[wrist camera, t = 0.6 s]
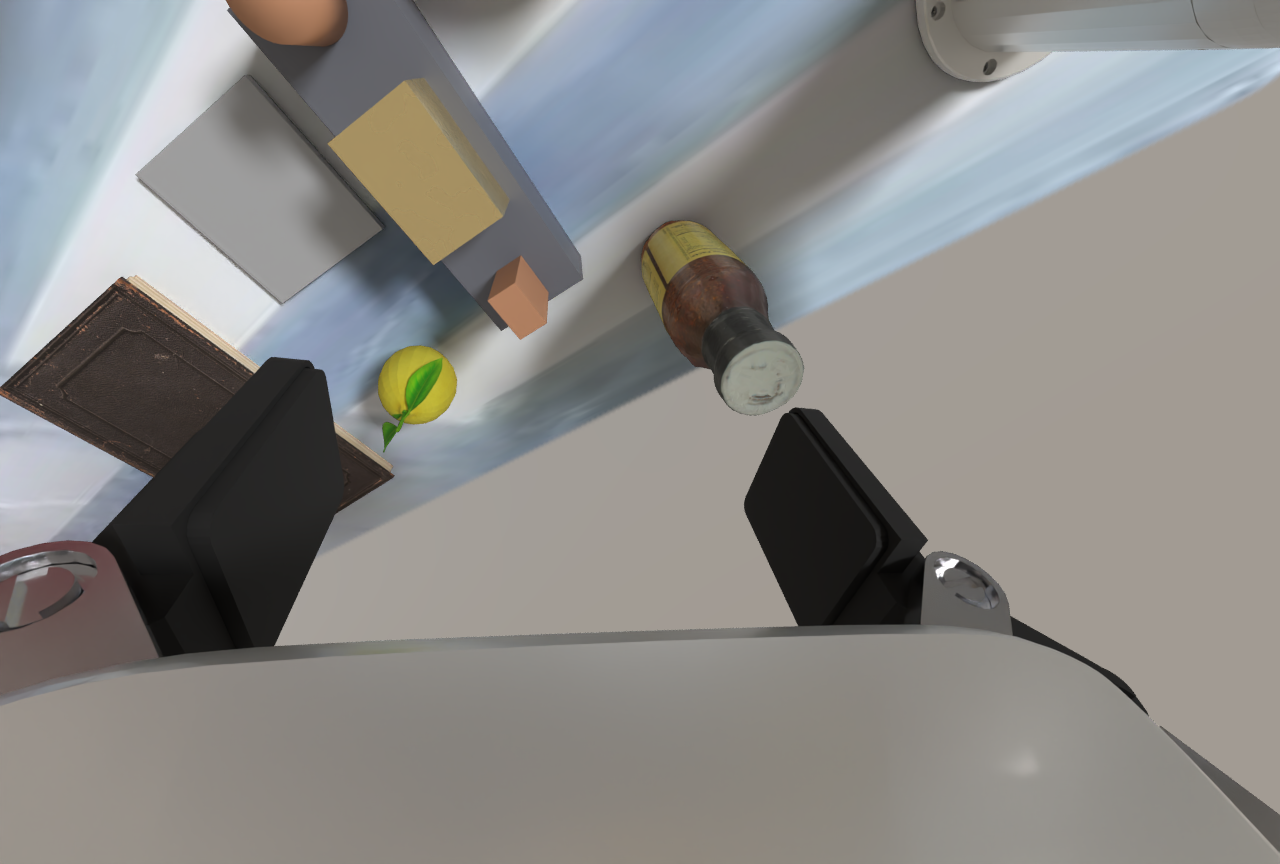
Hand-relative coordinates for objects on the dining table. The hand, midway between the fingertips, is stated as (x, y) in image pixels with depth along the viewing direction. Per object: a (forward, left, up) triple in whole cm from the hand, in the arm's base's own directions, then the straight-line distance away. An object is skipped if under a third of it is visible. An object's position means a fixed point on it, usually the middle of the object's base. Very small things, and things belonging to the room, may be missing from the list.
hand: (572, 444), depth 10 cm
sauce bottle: (-4, +9, -30) cm, 32 cm away
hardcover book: (+37, +1, -31) cm, 48 cm away
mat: (+18, -9, -30) cm, 36 cm away
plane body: (+6, -5, -30) cm, 31 cm away
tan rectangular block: (+6, -5, -25) cm, 26 cm away
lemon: (+18, +6, -30) cm, 36 cm away
